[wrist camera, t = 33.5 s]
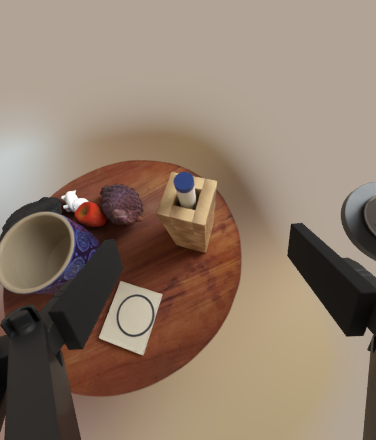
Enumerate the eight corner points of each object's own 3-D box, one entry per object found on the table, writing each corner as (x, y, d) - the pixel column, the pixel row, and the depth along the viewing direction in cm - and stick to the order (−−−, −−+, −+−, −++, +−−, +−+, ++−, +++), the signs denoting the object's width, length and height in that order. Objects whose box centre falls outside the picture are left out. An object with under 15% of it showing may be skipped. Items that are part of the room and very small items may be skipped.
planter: (84, 220, 57) (45, 196, 43) (122, 257, 53) (91, 244, 39) (37, 264, 54) (-22, 254, 40) (73, 309, 49) (20, 315, 35)
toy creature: (63, 212, 53) (87, 204, 55) (58, 189, 56) (81, 182, 58) (71, 220, 57) (93, 212, 59) (66, 198, 61) (88, 191, 62)
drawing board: (162, 294, 49) (161, 294, 48) (144, 354, 45) (142, 355, 44) (122, 281, 51) (120, 280, 50) (100, 337, 47) (98, 338, 46)
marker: (199, 210, 40) (196, 174, 28) (195, 223, 39) (190, 192, 27) (186, 207, 41) (176, 170, 29) (181, 220, 40) (170, 187, 28)
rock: (76, 201, 60) (57, 183, 55) (73, 228, 49) (50, 208, 45) (30, 229, 59) (7, 212, 55) (17, 261, 49) (-12, 244, 44)
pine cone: (92, 208, 58) (85, 177, 52) (123, 198, 64) (121, 169, 58) (121, 244, 49) (117, 210, 43) (155, 229, 54) (156, 197, 48)
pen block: (213, 224, 54) (217, 181, 33) (205, 253, 51) (204, 225, 31) (184, 217, 55) (171, 171, 35) (176, 245, 53) (156, 213, 32)
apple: (94, 235, 55) (71, 225, 49) (91, 218, 58) (70, 206, 52) (113, 225, 55) (93, 213, 48) (109, 208, 58) (90, 195, 51)
